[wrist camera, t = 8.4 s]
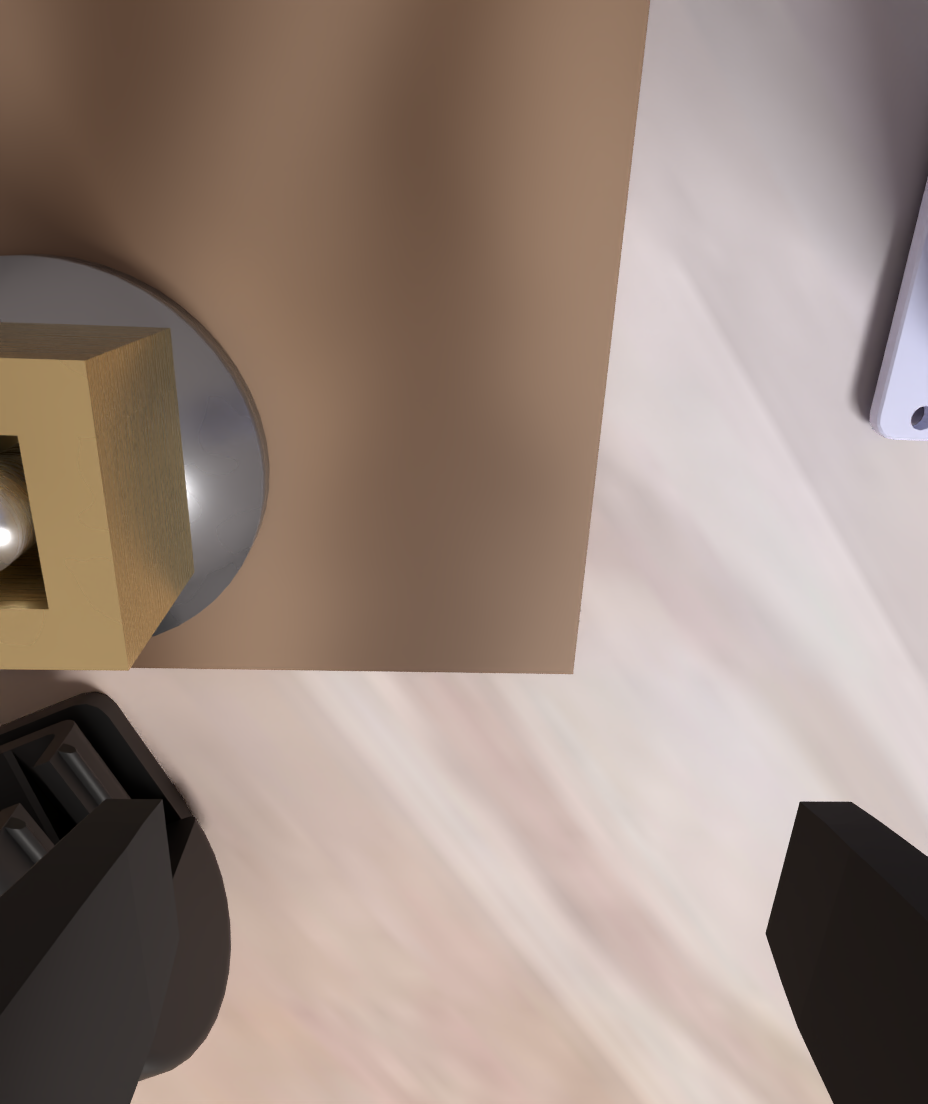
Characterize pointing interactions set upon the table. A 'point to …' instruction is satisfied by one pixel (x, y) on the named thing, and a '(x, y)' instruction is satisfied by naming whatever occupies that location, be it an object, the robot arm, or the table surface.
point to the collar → (93, 493)
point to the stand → (204, 412)
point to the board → (360, 289)
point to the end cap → (74, 792)
